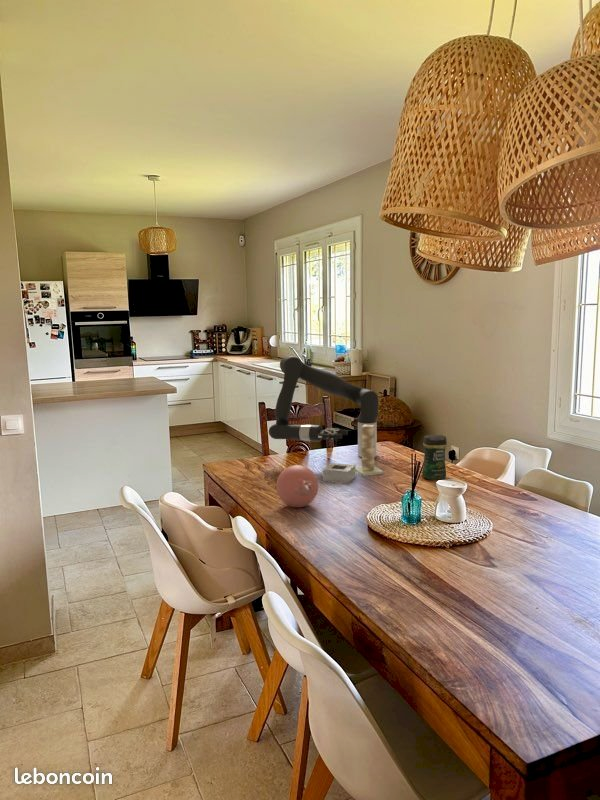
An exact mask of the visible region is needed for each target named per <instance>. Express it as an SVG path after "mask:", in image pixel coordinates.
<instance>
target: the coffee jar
mask: <svg viewBox="0 0 600 800" xmlns="http://www.w3.org/2000/svg"><path fill="white" fill-rule="evenodd" d="M447 443H448V442H447V437H446V436H445V435H442V434H431V435H424V437H423V441H422V444H423V445H422V446H423V448H424V455H423V456H424V457H423V465H422V470H421V471H422V472H421V473H422V477H423V478H424V479H425V478H426V479H427V480H430V481H431V480H432V481H433V479H436V480H445V478H446V477H447V468H446V449H447V446H448V444H447ZM438 478H440V479H438Z"/></svg>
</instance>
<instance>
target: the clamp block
mask: <svg viewBox="0 0 600 800" xmlns="http://www.w3.org/2000/svg"><path fill="white" fill-rule="evenodd" d="M355 468H356V465H355V464H347V463H346V464H345V463H335V462H331V463H330V464H328V465H326V467H324V468H323V469H322V481H323V480H324V481H323V482H330V481H333V482H332V483H340V482H342V484H349V483H350V482H351V481H352V480H353V479H355V477H356V471H355Z"/></svg>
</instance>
